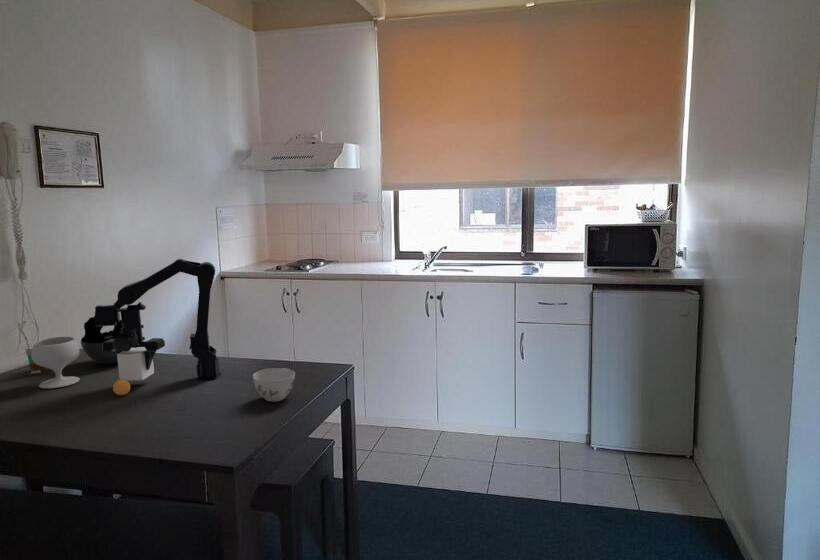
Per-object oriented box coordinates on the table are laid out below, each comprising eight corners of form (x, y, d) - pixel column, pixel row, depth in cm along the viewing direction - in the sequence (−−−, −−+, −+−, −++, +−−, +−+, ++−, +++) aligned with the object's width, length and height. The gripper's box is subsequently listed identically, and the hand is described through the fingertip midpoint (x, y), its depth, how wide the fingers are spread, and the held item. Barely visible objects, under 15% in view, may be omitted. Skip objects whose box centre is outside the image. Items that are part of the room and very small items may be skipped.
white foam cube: (154, 372, 201) (151, 347, 199) (142, 380, 193) (139, 354, 192) (132, 372, 201) (129, 347, 200) (119, 380, 194) (116, 354, 192)
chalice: (86, 375, 211) (81, 334, 208) (78, 387, 198) (73, 343, 195) (41, 380, 206) (36, 338, 204) (30, 393, 193) (24, 348, 191)
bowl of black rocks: (91, 358, 232) (86, 311, 229) (146, 353, 237) (141, 307, 234) (76, 373, 213) (70, 322, 210) (136, 367, 218) (131, 317, 215)
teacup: (279, 408, 173) (277, 382, 172) (245, 403, 178) (243, 377, 177) (308, 391, 186) (307, 367, 185) (276, 387, 192) (275, 363, 190)
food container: (46, 376, 211) (42, 349, 209) (28, 376, 211) (25, 349, 209) (66, 366, 223) (63, 340, 221) (50, 366, 223) (47, 340, 221)
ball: (123, 384, 185) (126, 398, 186) (131, 376, 189) (134, 390, 191) (108, 384, 185) (111, 398, 187) (117, 376, 190) (120, 390, 192)
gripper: (89, 330, 187) (95, 377, 190) (146, 329, 186) (151, 377, 188) (109, 322, 198) (114, 367, 201) (163, 321, 197) (167, 366, 199)
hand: (136, 369), depth 197 cm, fingers closed on white foam cube, 8 cm apart
